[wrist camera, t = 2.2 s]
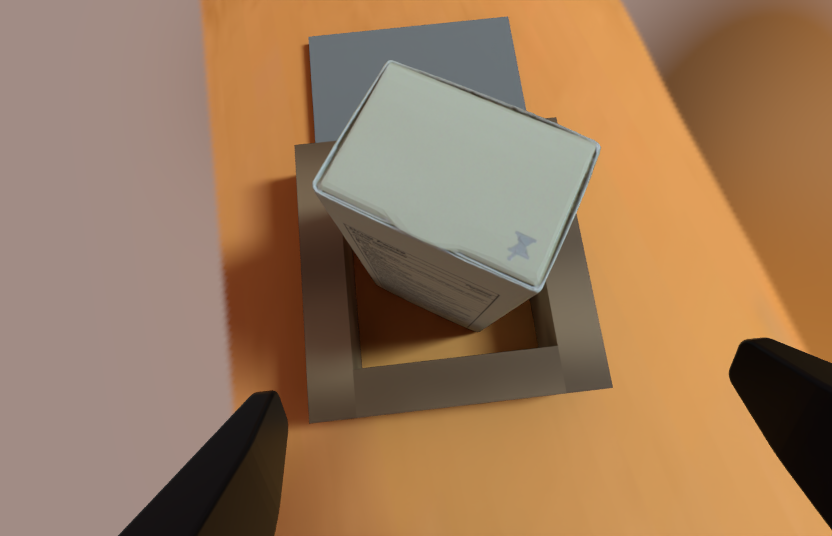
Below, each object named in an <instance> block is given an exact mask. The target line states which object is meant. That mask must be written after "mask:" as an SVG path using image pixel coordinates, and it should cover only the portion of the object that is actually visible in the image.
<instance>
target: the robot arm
mask: <svg viewBox="0 0 832 536" xmlns="http://www.w3.org/2000/svg"><path fill="white" fill-rule="evenodd" d="M729 378H730V381H731V383H732V385H733V386H734V388H735V390H736V391H737V393H738V395H739V396H740V398H741V399H742V401H743V403H744V404H745V406H746V408H747V409H748V411H749V412H750V414H751V416H752V417H753V419H754V420H755V422H756V424H757V425H758V427H759V429H760V430H761V432H762V433H763V435H764V437H765V438H766V440H767V441H768V443H769V445H770V446H771V448H772V449H773V451H774V452H775V454H776V455H777V457H778V458H779V460H780V461H781V463H782V464H783V465H784V467H785V468H786V470H787V471H788V472H789V474H790V475H791V476H792V478H793V479H794V480H795V482H796V483H797V484H798V486H799V487H800V488H801V490H802V491H803V492H804V494H805V495H806V496H807V498H808V499H809V500H810V502H811V503H812V504H813V506H814V507H815V508H816V510H817V511H818V512H819V514H820V515H821V516H822V518H823V519H824V520H825V522H826V523H827V524H828V526H829V527H830V528H831V530H832V363H830V362H828V361H825V360H822V359H820V358H818V357H815V356H813V355H810V354H808V353H805V352H803V351H800V350H798V349H795V348H793V347H790V346H788V345H785V344H783V343H780V342H778V341H775V340H773V339H770V338H754V339H746V340H744V341H742V342H741V343H740V345H739V347H738V349H737V352H736V354H735V357H734V359H733V362H732V364H731V367H730V369H729ZM287 437H288V421H287V417H286V414H285V411H284V408H283V406H282V403H281V400H280V397H279V395H278V393H277V392H276V391H273V390H272V391H263V392H256V393H254V394H252V395H251V396H250V397H249V398H248V399H247V400H246V401H245V402H244V403H243V404H242V405H241V407H240V408H239V409H238V410H237V411H236V412H235V413H234V414H233V415H232V416H231V417H230V418H229V419H228V420H227V421H226V422H225V423H224V425H223V426H222V427H221V428H220V429H219V430H218V431H217V432H216V433H215V434H214V435H213V436H212V437H211V438H210V439H209V440H208V441H207V442H206V443H205V445H204V446H203V447H202V448H201V449H200V450H199V451H198V452H197V453H196V454H195V455H194V456H193V457H192V458H191V459H190V460H189V461H188V462H187V464H186V465H185V466H184V467H183V468H182V469H181V470H180V471H179V472H178V473H177V474H176V475H175V476H174V477H173V478H172V479H171V481H169V483H168V484H167V485H166V486H165V487H164V488H163V489H162V490H161V491H160V492H159V493H158V494H157V495H156V496H155V498H153V500H152V501H151V502H150V503H149V504H148V505H147V506H146V507H145V508H144V509H143V510H142V511H141V512H140V513H139V514H138V515H137V516H136V517H135V518H134V519H133V521H132V522H131V523H130V524H129V525H128V526H127V527H126V528H125V529H124V530H123V531H122V532H121V533H120V534H119V535H118V536H274V534H275V530H276V525H277V520H278V514H279V508H280V500H281V491H282V482H283V473H284V464H285V455H286V446H287Z"/></svg>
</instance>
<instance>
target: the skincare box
mask: <svg viewBox="0 0 832 536" xmlns="http://www.w3.org/2000/svg"><path fill="white" fill-rule="evenodd" d="M600 149H601V147H600V145H599V143H597V142H596V141H594V140H592V139H590V138H587V137H585V136H583V135H581V134H579V133H577V132H575V131H572V130H570V129H568V128H565V127H563V126H561V125H559V124H557V123H555V122H552V121H549V120H547V119H545V118H542V117H540V116H537V115H535V114H534V113H531V112H528V111H525V110H523V109H521V108H518V107H516V106H513V105H510V104H507V103H505V102H503V101H500V100H498V99H495V98H493V97H490V96H487V95H485V94H482V93H480V92H477V91H474V90H472V89H469V88H467V87H464V86H462V85H459V84H456V83H453V82H451V81H448V80H446V79H443V78H440V77H437V76H434V75H431V74H429V73H426V72H424V71H421V70H418V69H415V68H412V67H409V66H407V65H404V64H401V63H399V62H396V61H393V60H389V61H387V62H386V63H385V64H384V66H383V68H382V69H381V71H380V73H379V74H378V76H377V78H376V80H375V81H374V82H373V84H372V85H371V87H370V88H369V90H368V91H367V93H366V95H365V96H364V98H363V99H362V101H361V103H360V104H359V105H358V107H357V109H356V110H355V111H354V113H353V115H352V117H351V118H350V120H349V121H348V123H347V125H346V127H345V128H344V130H343V131H342V133H341V135H340V136H339V138H338V139H337V141H336V142H335V144H334V146H333V147H332V149H331V151H330V152H329V154H328V156H327V158H326V159H325V161H324V163H323V164H322V166H321V168H320V169H319V171H318V173H317V174H316V176H315V178H314V180H313V182H312V188H313V190H314V192H315V194H316V196H317V197H318V199H319V200H320V201H321V203H322V204H323V206H324V207H325V209H326V210H327V212H328V213H329V215H330V216H331V218H332V219H333V221H334V222H335V224H336V225H337V226H338V228H339V229H340V231H341V232H342V234H343V236H344V237H345V239H346V240H347V242H348V243H349V245H350V246H351V247H352V249H353V250H354V252H355V253H356V255H357V256H358V258H359V259H360V261H361V262H362V264H363V265H364V267H365V268H366V270H367V271H368V273H369V274H370V276H371V277H372V279H373V280H374V282H375V283H376V285H378V286H380V287H382V288H384V289H385V290H387V291H389V292H391V293H393V294H395V295H397V296H399V297H401V298H403V299H405V300H407V301H409V302H411V303H413V304H415V305H417V306H420V307H422V308H424V309H426V310H428V311H430V312H432V313H434V314H437V315H439V316H441V317H443V318H445V319H447V320H450V321H452V322H454V323H456V324H459V325H461V326H463V327H466V328H468V329H470V330H473V331H475V332H480V331H481V330H483V329H484V328H486V327H487V326H489V325H490V324H492V323H493V322H495V321H496V320H498V319H499V318H501V317H502V316H504V315H506V314H507V313H508V312H510V311H511V310H513V309H514V308H516V307H518V306H519V305H521V304H522V303H524V302H525V301H527V300H528V299H530V298H531V297H533V296H534V295H536V294H538V293H539V292H540V291H541V290H542V288H543V286H544V284H545V281H546V279H547V277H548V275H549V273H550V270H551V268H552V266H553V264H554V262H555V260H556V258H557V255H558V253H559V251H560V249H561V247H562V244H563V242H564V240H565V238H566V235H567V233H568V231H569V228H570V226H571V224H572V221H573V219H574V217H575V215H576V212H577V210H578V207H579V205H580V202H581V200H582V198H583V195H584V193H585V190H586V188H587V186H588V183H589V180H590V178H591V175H592V172H593V169H594V166H595V164H596V161H597V158H598V156H599V154H600Z"/></svg>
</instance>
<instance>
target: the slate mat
mask: <svg viewBox="0 0 832 536" xmlns="http://www.w3.org/2000/svg"><path fill="white" fill-rule="evenodd" d="M309 51H310V67H311V82H312V97H313V113H314V128H315V143H319V142H329V141H337V139H338V138H339V136H340V135H341V133H342V131H343V130H344V128H345V127H346V125H347V123H348V121H349V120H350V118H351V117H352V115H353V113H354V111H355V110H356V109H357V107H358V105H359V104H360V103H361V101H362V99H363V98H364V96H365V95H366V93H367V91H368V90H369V88H370V87H371V85H372V84H373V82H374V81H375V80H376V78H377V76H378V74H379V73H380V71H381V69H382V68H383V66H384V64H385V63H386V62H387V61H389V60H393V61H396V62H399V63H401V64H404V65H407V66H409V67H412V68H415V69H418V70H421V71H424V72H426V73H429V74H431V75H434V76H437V77H440V78H443V79H446V80H448V81H451V82H453V83H456V84H459V85H462V86H464V87H467V88H469V89H472V90H474V91H477V92H480V93H482V94H485V95H487V96H490V97H493V98H495V99H498V100H500V101H503V102H505V103H507V104H510V105H513V106H516V107H518V108H521V109H523V110H525V111H526V107H525V102H524V97H523V92H522V87H521V82H520V76H519V71H518V66H517V61H516V56H515V50H514V45H513V40H512V35H511V30H510V25H509V19H508V17H499V18H489V19H480V20H470V21H460V22H450V23H440V24H430V25H421V26H411V27H401V28H391V29H381V30H371V31H362V32H352V33H342V34H332V35H322V36H312V37H309Z"/></svg>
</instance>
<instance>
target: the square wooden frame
mask: <svg viewBox="0 0 832 536" xmlns="http://www.w3.org/2000/svg"><path fill="white" fill-rule="evenodd" d="M545 119H547V120H549V121H552V122H555V123H557V119H556V117H555V118H545ZM335 142H336V141H329V142H319V143H310V144H300V145H295V162H296V181H297V200H298V218H299V237H300V256H301V275H302V294H303V313H304V332H305V351H306V370H307V389H308V408H309V424H310V423H318V422H327V421H335V420H344V419H352V418H361V417H369V416H378V415H386V414H395V413H403V412H412V411H420V410H429V409H437V408H445V407H454V406H462V405H471V404H479V403H488V402H496V401H505V400H513V399H522V398H530V397H539V396H547V395H556V394H564V393H573V392H581V391H590V390H598V389H607V388H613V386H612V381H611V376H610V371H609V367H608V362H607V357H606V352H605V348H604V343H603V338H602V333H601V329H600V324H599V319H598V314H597V310H596V305H595V300H594V295H593V291H592V286H591V281H590V276H589V272H588V267H587V262H586V257H585V253H584V248H583V243H582V238H581V233H580V229H579V224H578V219H577V214H576V215H575V217H574V219H573V221H572V224H571V226H570V228H569V231H568V233H567V235H566V238H565V240H564V242H563V244H562V247H561V249H560V251H559V253H558V255H557V258H556V260H555V262H554V264H553V266H552V268H551V270H550V273H549V275H548V277H547V279H546V281H545V284H544V286H543V288H542V290H541V291H540V292H539V293H538V294H536V295H534V296H533V297H531V298H530V302H531V308H532V313H533V319H534V325H535V331H536V336H537V342H538V348H534V349H525V350H516V351H508V352H499V353H490V354H482V355H473V356H465V357H456V358H447V359H439V360H430V361H421V362H413V363H404V364H396V365H387V366H378V367H370V368H362V360H361V348H360V336H359V324H358V311H357V299H356V287H355V275H354V262H353V250H352V247H351V246H350V245H349V243H348V242H347V240H346V239H345V237H344V236H343V234H342V232H341V231H340V229H339V228H338V226H337V225H336V224H335V222H334V221H333V219H332V218H331V216H330V215H329V213H328V212H327V210H326V209H325V207H324V206H323V204H322V203H321V201H320V200H319V199H318V197H317V196H316V194H315V192H314V190H313V188H312V182H313V180H314V178H315V176H316V174H317V173H318V171H319V169H320V168H321V166H322V164H323V163H324V161H325V159H326V158H327V156H328V154H329V152H330V151H331V149H332V147H333V146H334V144H335Z"/></svg>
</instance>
